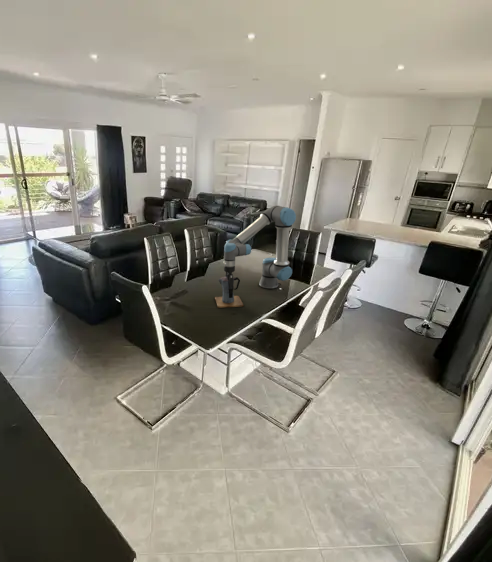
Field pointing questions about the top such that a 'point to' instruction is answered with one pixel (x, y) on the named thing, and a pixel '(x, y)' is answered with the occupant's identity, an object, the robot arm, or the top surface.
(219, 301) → the cork board
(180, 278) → the top surface
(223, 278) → the moka pot
